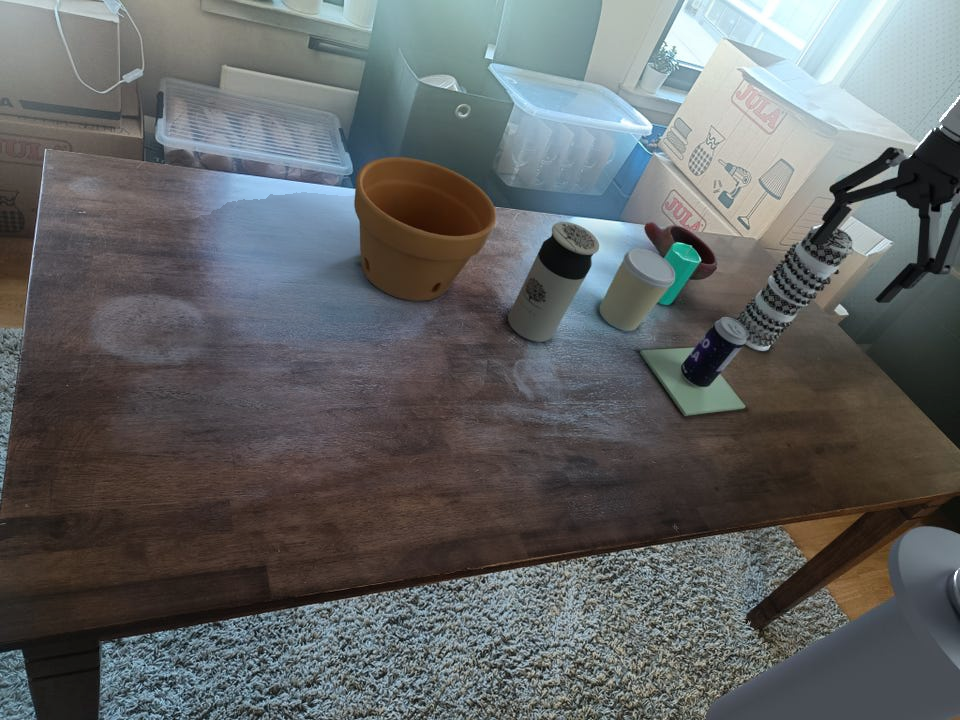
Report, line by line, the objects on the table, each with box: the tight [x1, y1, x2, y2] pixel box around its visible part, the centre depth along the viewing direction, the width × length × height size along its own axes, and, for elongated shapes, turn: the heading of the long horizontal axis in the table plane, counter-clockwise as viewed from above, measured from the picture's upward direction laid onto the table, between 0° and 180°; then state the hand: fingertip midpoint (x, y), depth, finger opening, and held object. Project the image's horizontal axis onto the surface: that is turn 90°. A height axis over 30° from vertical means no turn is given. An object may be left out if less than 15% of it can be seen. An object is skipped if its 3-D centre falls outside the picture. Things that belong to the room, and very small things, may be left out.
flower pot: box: [353, 156, 497, 302], centre depth 97 cm, size 21×21×15 cm
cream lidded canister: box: [599, 248, 675, 332], centre depth 110 cm, size 9×9×12 cm
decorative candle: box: [734, 224, 855, 352], centre depth 116 cm, size 9×9×25 cm
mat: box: [639, 347, 746, 417], centre depth 107 cm, size 14×14×1 cm
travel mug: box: [507, 221, 601, 343], centre depth 97 cm, size 8×8×18 cm
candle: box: [657, 242, 701, 306], centre depth 120 cm, size 6×6×12 cm
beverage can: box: [681, 316, 748, 387], centre depth 103 cm, size 6×6×12 cm
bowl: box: [644, 221, 718, 281], centre depth 130 cm, size 16×13×8 cm
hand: (847, 271), depth 94 cm, fingers open, 13 cm apart
